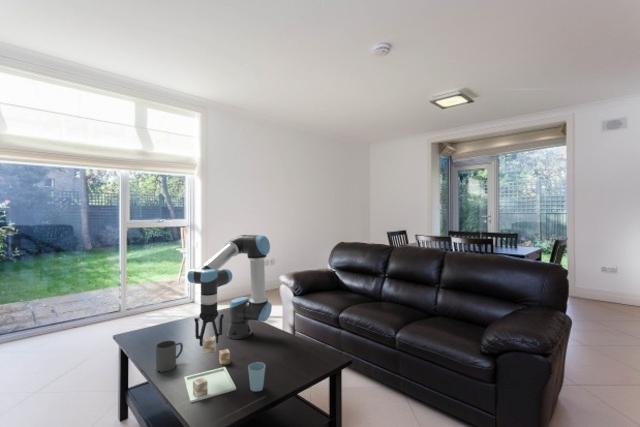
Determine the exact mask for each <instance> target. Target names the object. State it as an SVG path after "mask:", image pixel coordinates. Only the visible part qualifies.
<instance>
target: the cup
mask: <svg viewBox="0 0 640 427" xmlns="http://www.w3.org/2000/svg"><path fill="white" fill-rule="evenodd" d="M247 370H248V379H249V388H250V391H252V392H261V391H263V390H264V389H263V388H264V384H265V382H264V381H265V374H266V363H264V362H261V361H256V362H252V363H250V364H248V366H247Z"/></svg>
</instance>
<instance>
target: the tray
mask: <svg viewBox="0 0 640 427" xmlns="http://www.w3.org/2000/svg"><path fill="white" fill-rule="evenodd" d="M202 377H204V378H205V379H206V380H207V381H208V395H204V396H201V397H197V398H196V397H195V396H194V395H193V381H194V380H197V379H199V378H202ZM183 379H184V380H183V381H184V384H185V388H186V390H187V396H188V398H189V402H190V404H192V403H195V402H198V401H202V400H205V399H206V400H207V399H209V398H212V397H216V396H219V395H222V394H227V393H229V392H233V391H236V390H237V387H236V385H235V383H234V381H233V379H232V377H231V375H230V373H229V372H228V370H227V368H226V366H223V367H219V368H218V367H217V368H215V369H212V370H207V371H203V372H199V373H195V374H191V375H187V376H183Z"/></svg>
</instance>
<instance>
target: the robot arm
mask: <svg viewBox="0 0 640 427" xmlns="http://www.w3.org/2000/svg"><path fill="white" fill-rule="evenodd" d="M270 250H271V244H270V240H269V238H268V237H267V236H266V235H259V234H240V235H239V236H236V237H233V238H232V239H230V240H229V241H227V242H226V243H225V245H224V247H222V249H221V250H219V251H218V252H217V253H215V254H214V255H213V256H211V257H210V258H209V259H208V260H206V262H204V263H203V264H202V265H200V266H199V267H198V268H197V267H196V268H191V269H189V270H188V273H187V274H186V275H187V281H188V282H189V283H190V284H198V285H200V313H199V315H197V316H194V317H193V319H194V322H195V323H194V325H195V326H194V327H195V329H194V330H195V331H194V333H195V339H196V340H199V346H200V347H201V352H202V354H204V338H205V337H204V335H205V333H206V332H205V330H206V327H207V325H208V323H211V324H212V328H213V333H214V335H213V336H212V337H213V338H214V340H215V352H216V351H217V344H219V336H222V335H223V319H224V313H223V312H218V288H219V287H222V286H225V285H227V284H230V283H231V281H232V280H233V273H232V271H231V270H229V269H227V268H226V269H225V268H224V269H221V268H222V267H223V266H224V265H225V264H226V263H227V262H228V261H230V260H231V258H233V257H236V256H238V255H239V254H240V255H241V254H245V255H247V259H248V260H249V262H250V263H249V266H250V267H249V268H250V295H251V296H250V298H249V297H248V296H242V297H236V298H234V299H232V300H230V304H229V325H228V329H227V332H226V334H227V338H229V339H234V340H240V339H242V340H243V339H246V338H249V337H250V336H251V335H252V327H251V325H250V321H255V322H266V321H268V320H269V319H270V316H271V313H272V309H273V308H272V303H271V302H269V299H268V297H267V296H266V278H265V275H266V274H265V259H266V258H267V257H268V256H267V255H269V253H270ZM220 269H221V270H220ZM217 318H218V328H217V324H216V319H217ZM200 319H201V320H202V325H201V329H200V331H199V328H200V324H199V322H200ZM204 355H205V354H204Z"/></svg>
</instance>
